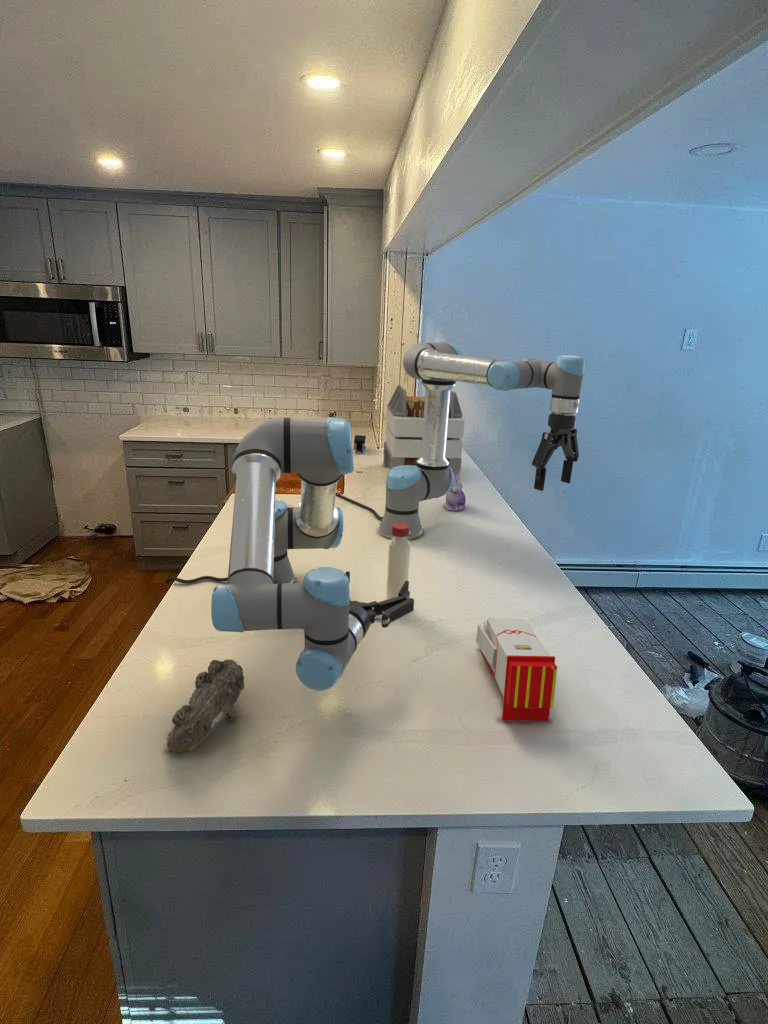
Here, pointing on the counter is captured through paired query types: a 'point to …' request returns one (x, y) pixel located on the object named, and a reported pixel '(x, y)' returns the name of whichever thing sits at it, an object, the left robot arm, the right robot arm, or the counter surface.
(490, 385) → the right robot arm
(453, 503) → the figurine
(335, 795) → the counter surface
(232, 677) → the fossil
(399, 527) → the cap
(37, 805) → the counter surface
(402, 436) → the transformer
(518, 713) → the toy
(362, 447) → the figurine character
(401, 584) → the bottle
